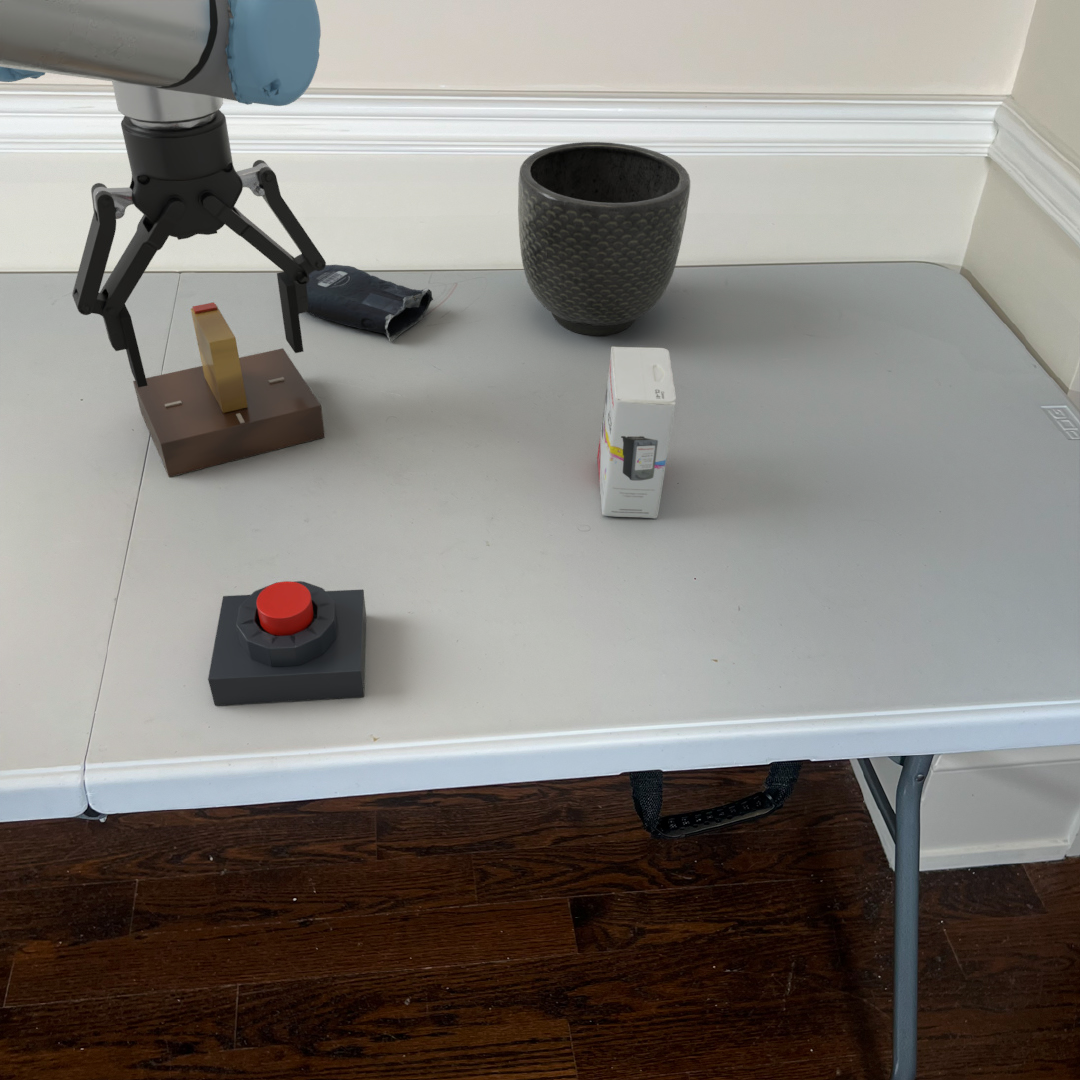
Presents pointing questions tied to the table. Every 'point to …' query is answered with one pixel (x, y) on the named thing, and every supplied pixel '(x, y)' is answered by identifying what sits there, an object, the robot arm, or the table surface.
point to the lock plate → (229, 414)
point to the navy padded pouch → (365, 300)
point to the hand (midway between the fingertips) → (219, 362)
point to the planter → (600, 231)
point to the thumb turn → (219, 357)
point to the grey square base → (290, 652)
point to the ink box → (635, 431)
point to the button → (285, 608)
